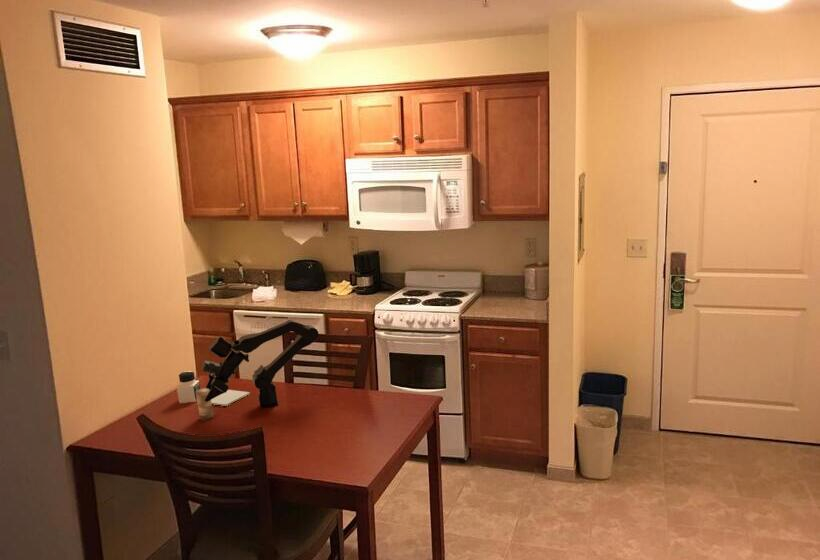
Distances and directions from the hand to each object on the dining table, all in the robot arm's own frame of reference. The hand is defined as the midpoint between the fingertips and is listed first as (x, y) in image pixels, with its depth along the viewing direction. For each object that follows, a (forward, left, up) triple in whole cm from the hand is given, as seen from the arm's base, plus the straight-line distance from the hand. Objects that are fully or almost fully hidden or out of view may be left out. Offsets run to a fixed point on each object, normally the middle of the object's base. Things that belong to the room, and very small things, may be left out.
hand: (205, 397), depth 255 cm
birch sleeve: (0, 0, -8) cm, 8 cm away
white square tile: (-7, -18, -8) cm, 21 cm away
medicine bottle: (+7, -26, -8) cm, 28 cm away
